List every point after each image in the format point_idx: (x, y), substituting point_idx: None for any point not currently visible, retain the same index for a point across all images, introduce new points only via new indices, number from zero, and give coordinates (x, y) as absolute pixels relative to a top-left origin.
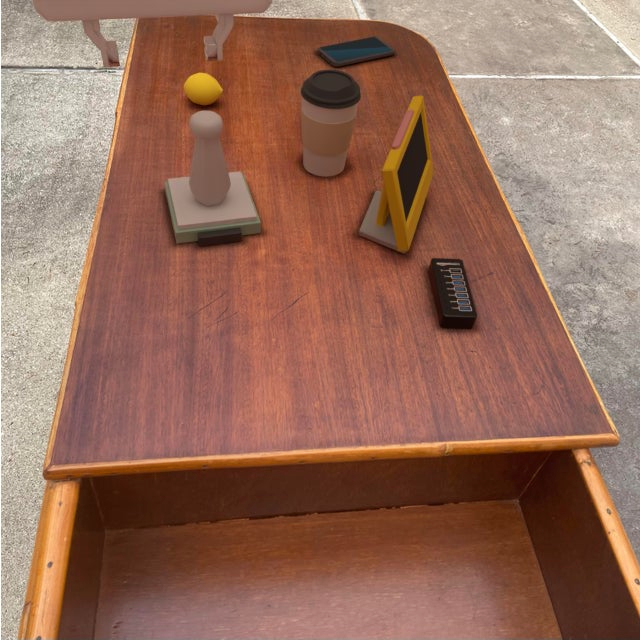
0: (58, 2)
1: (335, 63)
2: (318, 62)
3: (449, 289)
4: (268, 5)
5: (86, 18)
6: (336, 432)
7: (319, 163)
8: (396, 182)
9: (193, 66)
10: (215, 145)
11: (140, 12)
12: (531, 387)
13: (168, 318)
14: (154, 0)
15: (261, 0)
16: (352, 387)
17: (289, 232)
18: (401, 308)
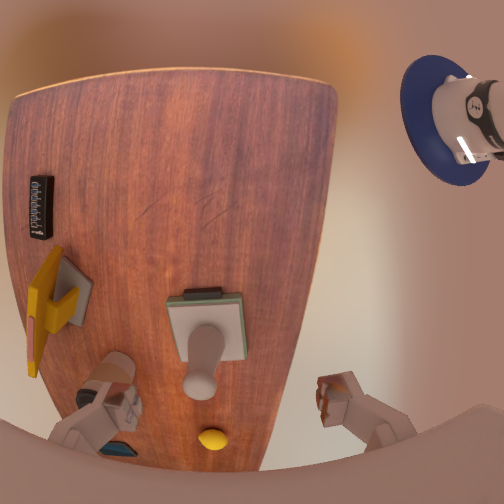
0: (484, 440)
1: (123, 444)
2: (135, 447)
3: (39, 204)
4: None
5: (419, 437)
6: (141, 82)
7: (119, 360)
8: (33, 279)
9: (221, 456)
10: (193, 366)
11: (273, 483)
12: (26, 126)
13: (254, 203)
14: None
15: None
16: (120, 119)
17: (145, 294)
18: (72, 197)
